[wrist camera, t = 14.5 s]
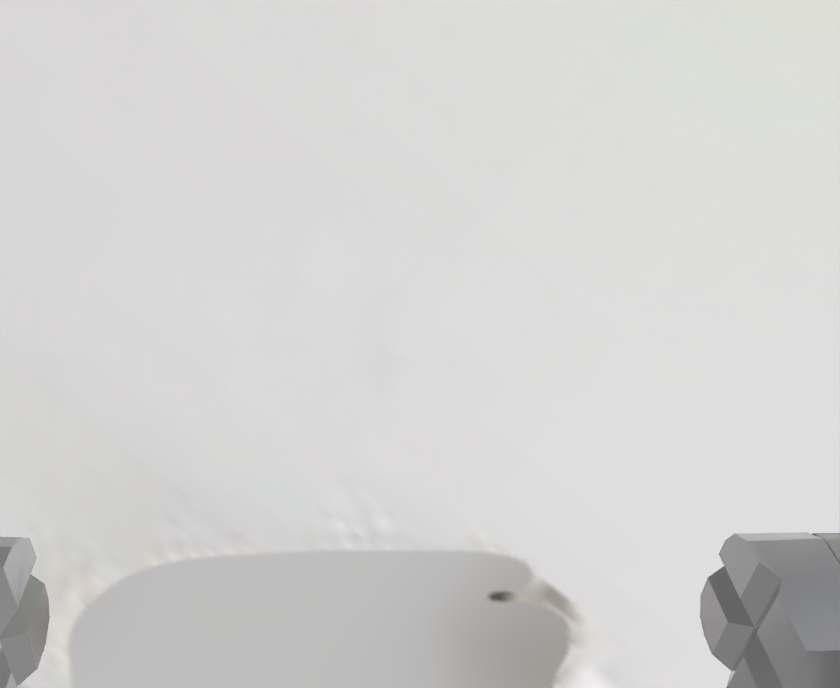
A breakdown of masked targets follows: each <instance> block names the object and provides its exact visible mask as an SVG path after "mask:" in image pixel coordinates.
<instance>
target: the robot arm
mask: <svg viewBox="0 0 840 688" xmlns="http://www.w3.org/2000/svg"><path fill="white" fill-rule="evenodd" d="M719 555H720V557H721V560H722V562H723V564H724V567H722V568H721V569H719V570H718V571H717V572H715V573H714V574H712V575H711V576H709V577H708V578H707V581H706V584H705V586H704V589H703V591H702V594H701V607H700V618H701V622H702V627H703V632H704V636H705V638H706V640H707V643H708V645H709V648H710V650H711V653H712V654H713V655H714V656H715V657H716V658H717V659H718V660H719V661H721V662H722V663H723V664H724V665H725V666H726V667H728V668H729V669H730V670H731V673H730V677H729V680H728V684H727V688H840V533H813V534H809V533H752V534H734V535H732V536H731V537H729V538H728V539H726V540H725V542H724V544H723V546H722V548H721V551H720V553H719ZM35 561H36V555H35V552H34V549H33V547H32V544H31V541H30V538H21V537H0V688H17V686H18V685H19V684H21V683H22V682H23V681H24V680H25V679H26V678H27V677H28V676H29V675H31V674H32V673H33V672H34V671H35V670H36V669H37V668H38V665H39V662H40V659H41V656H42V653H43V650H44V647H45V644H46V637H47V630H48V624H49V600H48V595H47V592H46V588H45V584H44V583H42V582H41V581H39V580H38V579H37V578H35V577H34V576H32V575H31V571H32V569H33V566H34V564H35Z"/></svg>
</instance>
